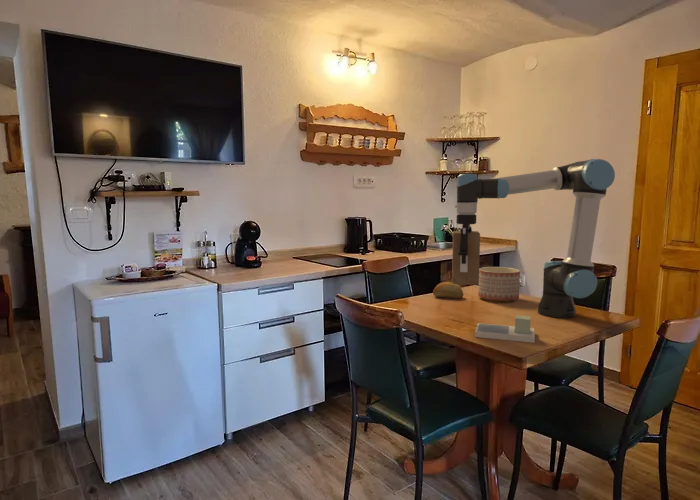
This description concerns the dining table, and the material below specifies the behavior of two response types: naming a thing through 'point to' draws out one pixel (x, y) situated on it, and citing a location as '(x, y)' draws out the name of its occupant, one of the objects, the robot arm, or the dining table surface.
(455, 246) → the wooden block
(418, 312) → the dining table surface
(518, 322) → the sage cube
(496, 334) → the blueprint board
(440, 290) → the bread roll
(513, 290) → the planter
